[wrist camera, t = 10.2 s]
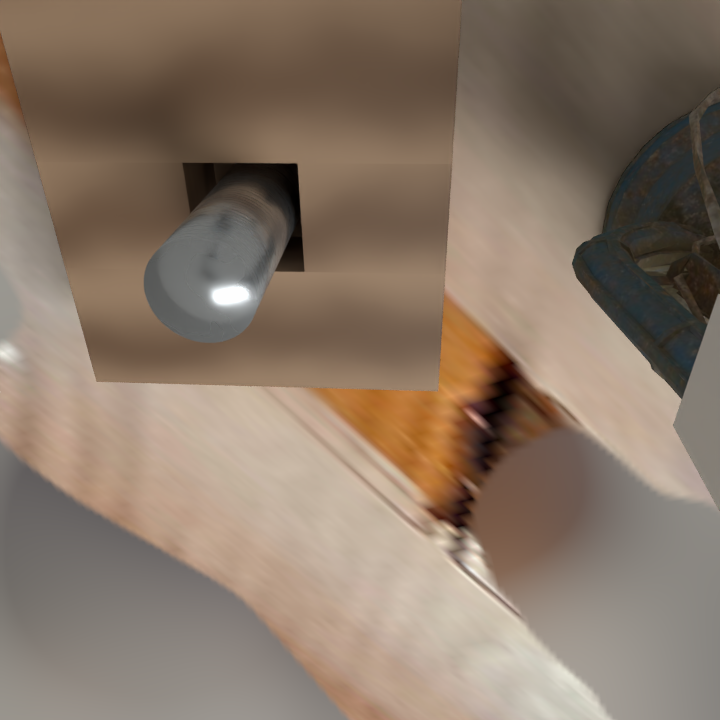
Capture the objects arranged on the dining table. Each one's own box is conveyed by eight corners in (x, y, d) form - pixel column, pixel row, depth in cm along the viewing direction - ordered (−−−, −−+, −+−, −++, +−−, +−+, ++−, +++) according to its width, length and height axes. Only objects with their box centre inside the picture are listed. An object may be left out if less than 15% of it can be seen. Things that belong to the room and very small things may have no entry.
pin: (224, 149, 32) (133, 237, 21) (305, 149, 31) (251, 239, 21) (233, 227, 34) (154, 341, 24) (309, 228, 33) (262, 344, 23)
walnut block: (61, -15, 30) (-12, -10, 25) (454, -21, 29) (463, -17, 23) (137, 327, 39) (96, 381, 34) (434, 333, 38) (437, 391, 33)
